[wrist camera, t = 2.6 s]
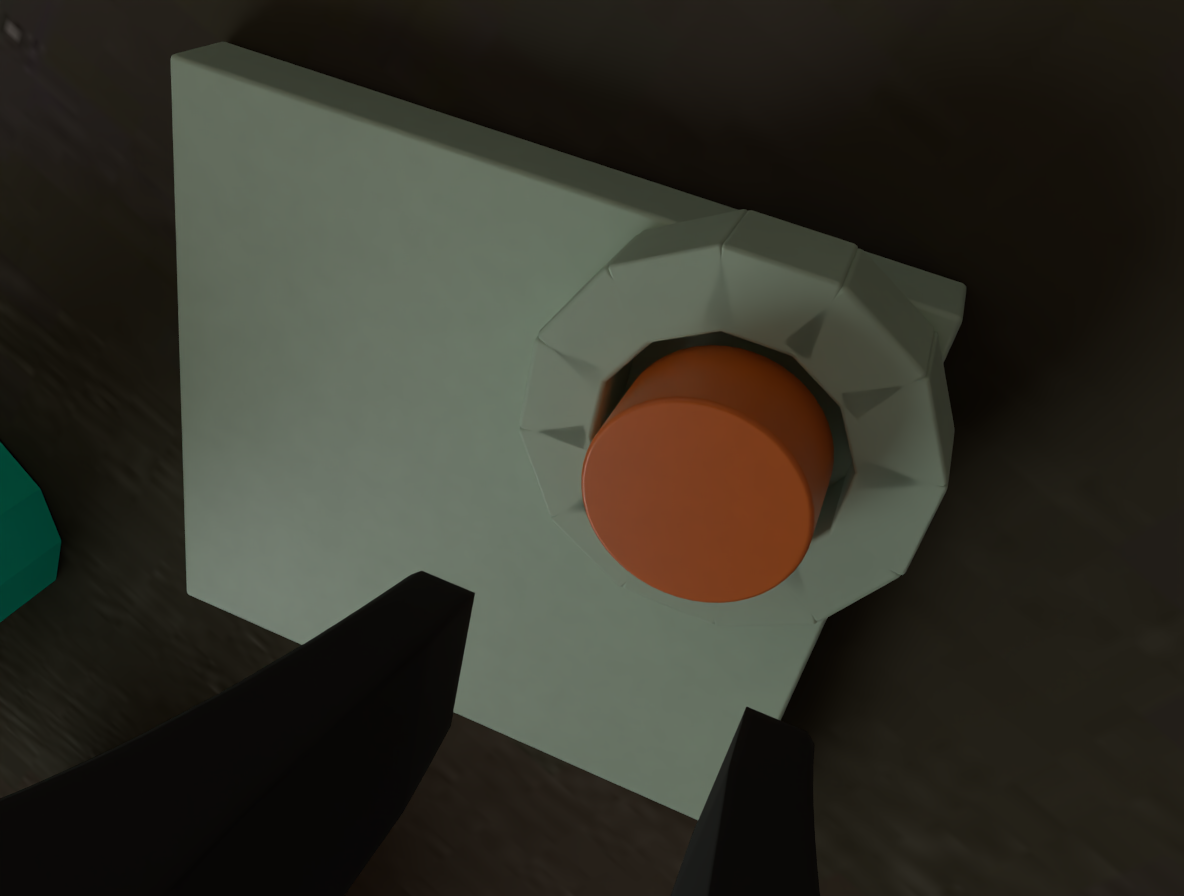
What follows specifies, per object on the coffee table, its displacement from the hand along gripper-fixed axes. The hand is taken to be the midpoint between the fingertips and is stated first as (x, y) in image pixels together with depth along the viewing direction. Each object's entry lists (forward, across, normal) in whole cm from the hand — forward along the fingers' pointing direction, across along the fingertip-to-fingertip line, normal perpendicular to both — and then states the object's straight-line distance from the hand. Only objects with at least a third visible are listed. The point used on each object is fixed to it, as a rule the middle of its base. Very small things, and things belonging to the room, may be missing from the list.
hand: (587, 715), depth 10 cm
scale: (+8, +4, +4) cm, 10 cm away
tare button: (+6, 0, 0) cm, 6 cm away
